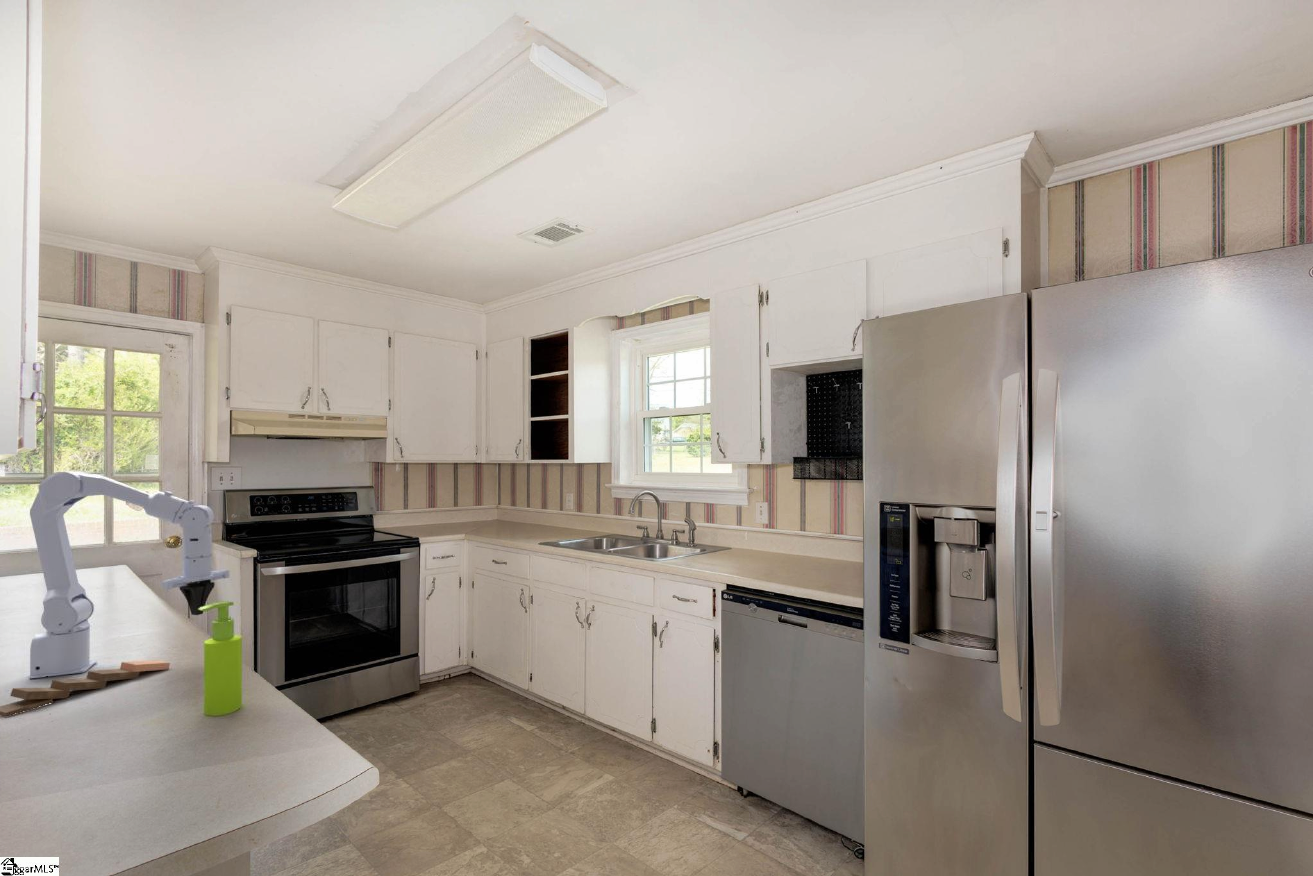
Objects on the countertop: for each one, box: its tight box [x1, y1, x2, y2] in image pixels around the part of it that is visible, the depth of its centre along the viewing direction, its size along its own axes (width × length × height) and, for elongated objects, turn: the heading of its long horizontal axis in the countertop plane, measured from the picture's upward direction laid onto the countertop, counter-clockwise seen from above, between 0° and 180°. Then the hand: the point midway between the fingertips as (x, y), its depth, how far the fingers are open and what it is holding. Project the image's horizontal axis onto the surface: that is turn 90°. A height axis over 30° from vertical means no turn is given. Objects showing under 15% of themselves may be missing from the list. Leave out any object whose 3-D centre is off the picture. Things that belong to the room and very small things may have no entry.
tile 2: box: [86, 668, 141, 681], centre depth 139 cm, size 1×5×7 cm
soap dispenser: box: [198, 600, 243, 717], centre depth 123 cm, size 6×7×20 cm
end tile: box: [0, 699, 54, 717], centre depth 125 cm, size 1×5×7 cm
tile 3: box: [49, 677, 107, 691], centre depth 133 cm, size 1×5×7 cm
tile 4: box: [9, 687, 71, 700], centre depth 128 cm, size 1×5×7 cm
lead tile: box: [119, 659, 171, 672], centre depth 145 cm, size 1×5×7 cm
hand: (197, 614), depth 156 cm, fingers closed
